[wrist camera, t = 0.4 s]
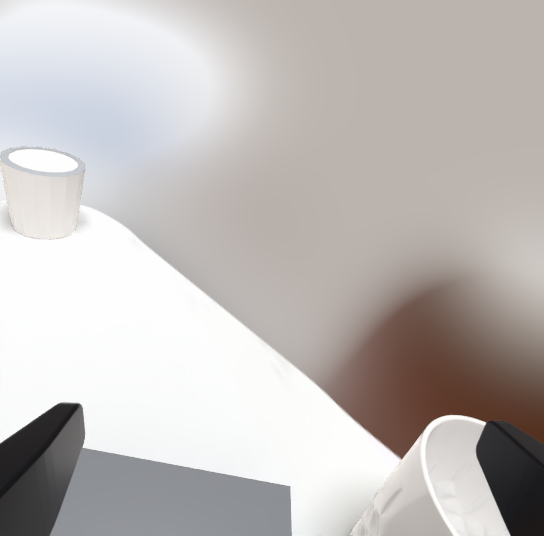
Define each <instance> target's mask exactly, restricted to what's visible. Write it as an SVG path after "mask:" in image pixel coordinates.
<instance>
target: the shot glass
mask: <svg viewBox="0 0 544 536" xmlns="http://www.w3.org/2000/svg"><path fill="white" fill-rule="evenodd" d="M0 166H1V171H2V176H3V181H4V187H5V191H6V197H7V203H8V208H9V213H10V218H11V224H12V226H13V228H14V229H15V231H17V232H18V233H20V234H22V235H24V236H27V237H31V238H35V239H48V240H51V239H58V238H63V237H66V236H69V235H71V234H72V233H73V232H74V231H75V230H76V225H77V219H78V213H79V206H80V199H81V194H82V187H83V181H84V174H85V164H84V163H83V162H82V161H81V160H80V159H79V158H77V157H75V156H72V155H70V154H68V153H64V152H61V151H58V150H54V149H47V148H41V147H16V148H9V149H7V150H5V151H2V152H1V154H0Z"/></svg>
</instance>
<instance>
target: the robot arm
mask: <svg viewBox="0 0 544 536" xmlns="http://www.w3.org/2000/svg"><path fill="white" fill-rule="evenodd" d="M84 439H85V427H84V417H83V408H82V405H81V404H79V403H65V402H63V403H59V404H57V405H55V406H54V407H52V408H51V409H49V410H48V411H46V412H45V413H44V414H42V415H41V416H39V417H38V418H36V419H35V420H33V421H32V422H30V423H29V424H28V425H26V426H25V427H23V428H22V429H20V430H19V431H17V432H16V433H15V434H13V435H12V436H10V437H9V438H7V439H6V440H4V441H3V442H1V443H0V536H50V534H51V532H52V529H53V527H54V525H55V522H56V520H57V517H58V514H59V512H60V509H61V506H62V503H63V500H64V498H65V495H66V492H67V489H68V486H69V484H70V481H71V478H72V475H73V472H74V469H75V467H76V464H77V461H78V458H79V455H80V453H81V450H82V447H83V444H84ZM476 456H477V459H478V462H479V464H480V466H481V469H482V471H483V473H484V476H485V478H486V481H487V483H488V485H489V488H490V490H491V492H492V495H493V497H494V500H495V502H496V504H497V507H498V509H499V511H500V514H501V516H502V518H503V521H504V523H505V525H506V527H507V530H508V532H509V534H510V536H544V444H542V443H541V442H539V441H538V440H536V439H534V438H533V437H531V436H530V435H528V434H526V433H525V432H523V431H522V430H520V429H518V428H517V427H515V426H514V425H512V424H510V423H509V422H506V421H488V422H487V423H486V424H485V426H484V428H483V431H482V433H481V435H480V438H479V440H478V442H477V445H476Z"/></svg>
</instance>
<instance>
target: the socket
mask: <svg viewBox="0 0 544 536" xmlns="http://www.w3.org/2000/svg"><path fill="white" fill-rule="evenodd" d="M50 536H292V532H291V498H290V486H285V485H280V484H274V483H269V482H263V481H258V480H253V479H247V478H242V477H237V476H231V475H226V474H220V473H215V472H210V471H204V470H199V469H193V468H188V467H183V466H177V465H172V464H166V463H161V462H156V461H150V460H145V459H140V458H134V457H129V456H123V455H118V454H113V453H107V452H102V451H96V450H91V449H86V448H82V450H81V453H80V455H79V458H78V461H77V464H76V467H75V469H74V472H73V475H72V478H71V481H70V484H69V486H68V489H67V492H66V495H65V498H64V500H63V503H62V506H61V509H60V512H59V514H58V517H57V520H56V522H55V525H54V527H53V529H52V532H51V534H50Z"/></svg>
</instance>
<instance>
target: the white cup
mask: <svg viewBox="0 0 544 536" xmlns="http://www.w3.org/2000/svg"><path fill="white" fill-rule="evenodd" d="M485 424H486V423H485V422H483V421H480V420H477V419H474V418H470V417H466V416H459V415H448V416H443V417H440V418H437V419H436V420H434V421H432V422H431V423H430V424H429V425H428V426H427V428H426V429H425V430H424V431H423V433H422V434H421V435H420V437H419V438H418V439H417V441H416V442H415V443H414V445H413V446H412V447H411V449H410V450H409V451H408V452H407V454H406V455H405V456H404V458H403V459H402V460H401V462H400V463H399V464H398V465H397V467H396V468H395V469H394V471H393V472H392V473H391V474H390V476H389V477H388V478H387V480H386V481H385V482H384V484H383V485H382V486H381V488H380V489H379V491H378V492H377V494H376V495H375V497H374V498H373V499H372V501H371V502H370V504H369V505H368V507H367V508H366V510H365V511H364V513H363V516H362V517H361V518H360V520H359V521H358V522H357V523H356V525H355V526H354V527H353V529H352V531H351V533H350V535H349V536H510V534H509V532H508V530H507V527H506V525H505V523H504V521H503V518H502V516H501V514H500V511H499V509H498V507H497V504H496V502H495V500H494V497H493V495H492V492H491V490H490V488H489V485H488V483H487V481H486V478H485V476H484V473H483V471H482V469H481V466H480V464H479V462H478V459H477V456H476V445H477V442H478V440H479V438H480V435H481V433H482V431H483V428H484V426H485Z"/></svg>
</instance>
